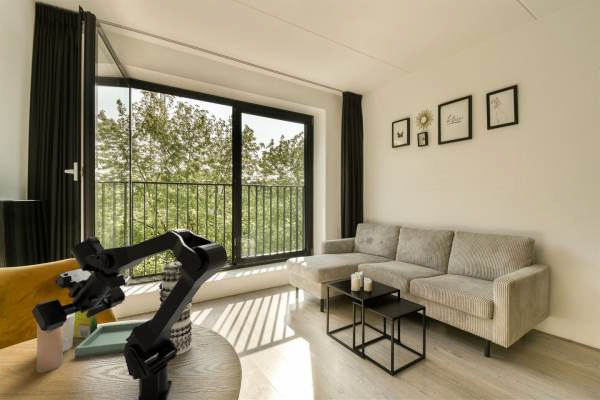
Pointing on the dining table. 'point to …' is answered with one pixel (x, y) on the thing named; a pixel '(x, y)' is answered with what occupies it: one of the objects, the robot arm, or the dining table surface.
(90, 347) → the tray
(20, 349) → the dining table surface
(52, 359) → the peach rounded cone
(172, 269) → the decorative candle
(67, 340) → the white cup
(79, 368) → the dining table surface
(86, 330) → the crayon box
